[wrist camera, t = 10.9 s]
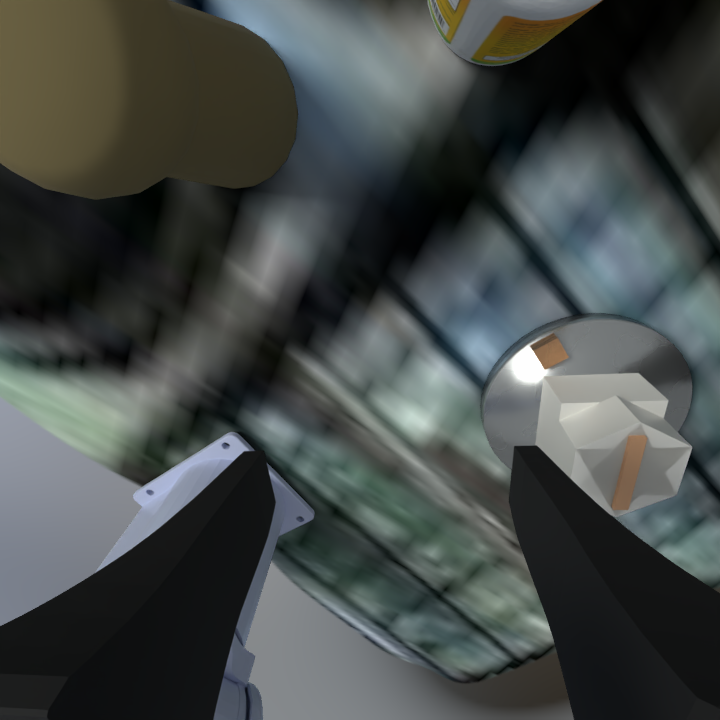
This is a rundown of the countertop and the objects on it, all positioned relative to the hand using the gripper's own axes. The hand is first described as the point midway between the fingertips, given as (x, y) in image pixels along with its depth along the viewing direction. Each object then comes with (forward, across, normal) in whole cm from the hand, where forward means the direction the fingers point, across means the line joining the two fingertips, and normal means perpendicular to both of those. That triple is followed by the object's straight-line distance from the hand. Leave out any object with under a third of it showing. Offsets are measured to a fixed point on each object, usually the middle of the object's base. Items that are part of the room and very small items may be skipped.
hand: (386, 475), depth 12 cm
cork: (+11, +6, -11) cm, 16 cm away
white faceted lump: (+9, -10, +4) cm, 14 cm away
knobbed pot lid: (+10, -10, +4) cm, 15 cm away
